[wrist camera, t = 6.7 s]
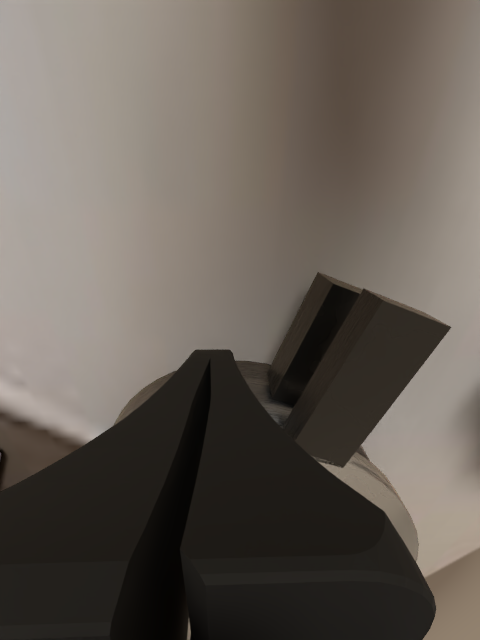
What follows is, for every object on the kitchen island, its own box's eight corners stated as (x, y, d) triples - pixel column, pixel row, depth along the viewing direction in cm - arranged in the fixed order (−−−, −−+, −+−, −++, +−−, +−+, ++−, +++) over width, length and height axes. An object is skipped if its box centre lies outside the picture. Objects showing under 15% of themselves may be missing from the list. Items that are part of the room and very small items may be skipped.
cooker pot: (289, 548, 24) (303, 630, 19) (92, 510, 21) (52, 596, 16) (463, 326, 15) (565, 378, 10) (167, 209, 12) (127, 209, 8)
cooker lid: (306, 639, 19) (318, 707, 16) (40, 605, 16) (3, 681, 13) (590, 379, 10) (713, 437, 8) (113, 188, 7) (46, 177, 4)
